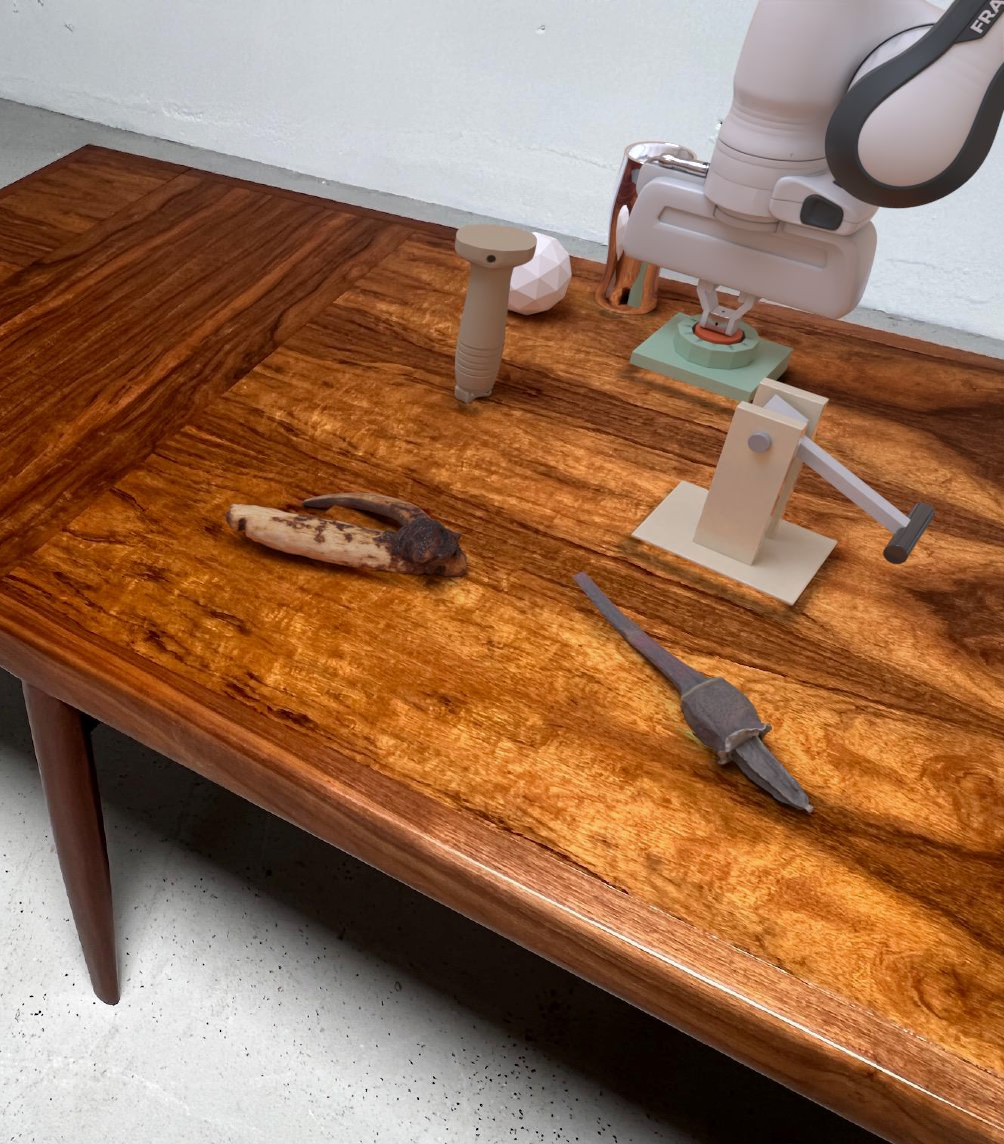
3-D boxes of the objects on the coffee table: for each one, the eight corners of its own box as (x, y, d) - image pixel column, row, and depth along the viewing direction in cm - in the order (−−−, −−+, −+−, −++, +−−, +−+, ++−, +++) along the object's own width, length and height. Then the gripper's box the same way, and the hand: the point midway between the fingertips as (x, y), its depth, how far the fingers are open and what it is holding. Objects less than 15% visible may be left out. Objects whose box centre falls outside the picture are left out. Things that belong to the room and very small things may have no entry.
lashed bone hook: (475, 534, 86) (250, 490, 89) (485, 483, 83) (252, 440, 86) (458, 609, 79) (214, 558, 82) (469, 557, 76) (215, 506, 79)
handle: (505, 417, 97) (533, 254, 88) (432, 406, 99) (451, 244, 89) (511, 389, 101) (539, 229, 91) (440, 379, 102) (461, 220, 93)
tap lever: (918, 529, 76) (945, 508, 75) (890, 572, 73) (918, 552, 71) (763, 405, 79) (786, 382, 77) (730, 441, 76) (752, 418, 74)
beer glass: (658, 321, 110) (698, 171, 101) (586, 311, 112) (619, 162, 102) (662, 291, 115) (700, 144, 106) (593, 281, 117) (624, 136, 107)
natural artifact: (778, 839, 65) (762, 817, 62) (571, 586, 81) (551, 559, 78) (835, 801, 64) (822, 777, 62) (615, 554, 80) (597, 525, 77)
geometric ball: (532, 342, 113) (551, 307, 105) (468, 297, 114) (481, 260, 106) (576, 287, 114) (597, 248, 106) (511, 243, 115) (528, 202, 108)
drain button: (744, 346, 102) (749, 328, 101) (726, 363, 100) (732, 345, 98) (701, 332, 104) (706, 315, 103) (683, 348, 101) (688, 331, 100)
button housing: (786, 369, 103) (800, 330, 101) (744, 414, 98) (757, 374, 95) (673, 332, 109) (683, 294, 106) (626, 372, 103) (636, 333, 100)
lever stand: (832, 553, 83) (898, 405, 75) (788, 616, 78) (852, 465, 70) (678, 491, 89) (723, 348, 81) (627, 545, 84) (669, 398, 76)
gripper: (628, 157, 95) (595, 306, 104) (880, 222, 85) (819, 381, 94) (661, 137, 98) (626, 283, 107) (905, 197, 88) (844, 352, 97)
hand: (717, 329), depth 101 cm, fingers closed, pressing on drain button
